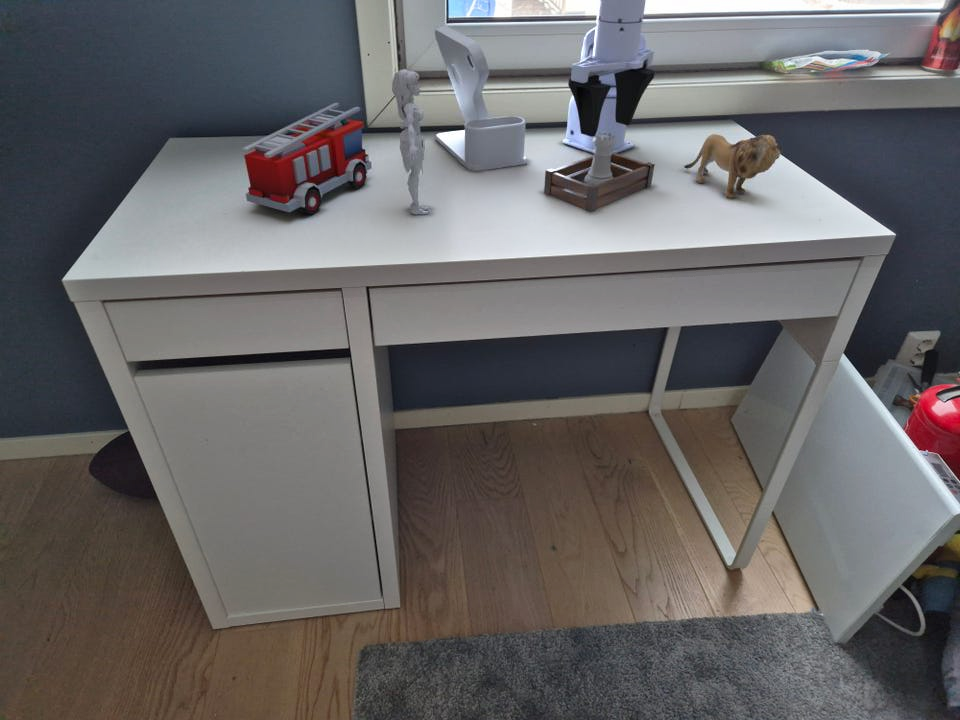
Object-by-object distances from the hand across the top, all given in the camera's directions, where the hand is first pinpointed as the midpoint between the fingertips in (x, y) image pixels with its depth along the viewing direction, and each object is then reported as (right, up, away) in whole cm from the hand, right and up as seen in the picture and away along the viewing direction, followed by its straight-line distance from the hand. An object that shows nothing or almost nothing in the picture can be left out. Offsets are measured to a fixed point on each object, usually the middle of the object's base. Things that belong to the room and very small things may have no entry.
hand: (605, 128), depth 90 cm
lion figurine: (+19, -6, +7) cm, 21 cm away
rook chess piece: (0, -7, +5) cm, 9 cm away
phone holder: (-17, +3, +18) cm, 25 cm away
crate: (0, -7, +5) cm, 9 cm away
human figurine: (-26, -12, -1) cm, 29 cm away
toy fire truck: (-41, -8, +3) cm, 42 cm away
